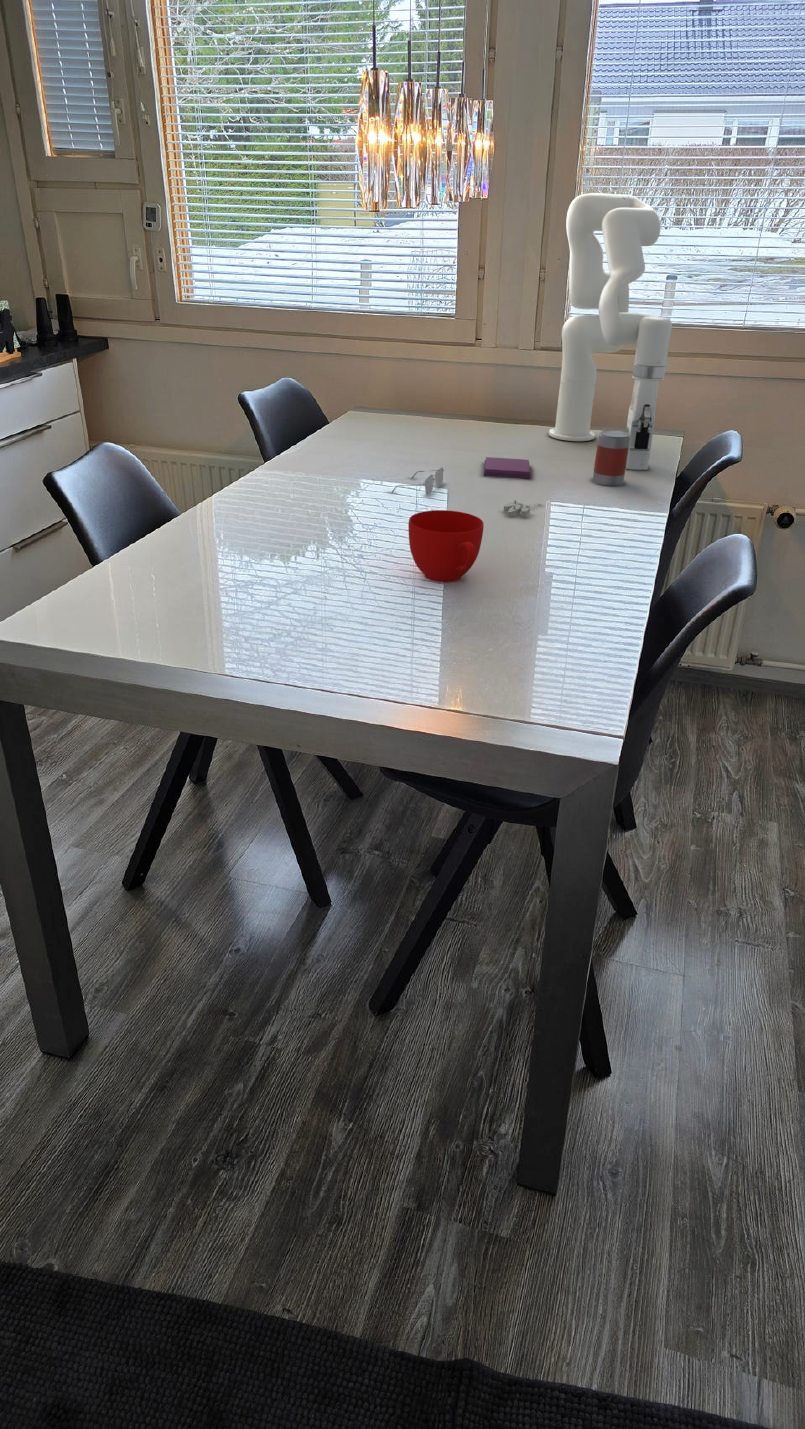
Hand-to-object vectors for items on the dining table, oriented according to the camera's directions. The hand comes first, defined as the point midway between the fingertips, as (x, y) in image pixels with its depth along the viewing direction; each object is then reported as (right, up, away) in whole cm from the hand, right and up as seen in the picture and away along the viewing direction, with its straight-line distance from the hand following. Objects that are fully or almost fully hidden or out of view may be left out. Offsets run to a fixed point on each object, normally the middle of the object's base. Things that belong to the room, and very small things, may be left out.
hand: (638, 444), depth 248 cm
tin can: (-10, -12, -11) cm, 19 cm away
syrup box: (0, -5, +3) cm, 6 cm away
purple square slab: (-33, -8, -6) cm, 35 cm away
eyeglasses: (-55, -16, -22) cm, 61 cm away
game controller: (-32, -24, -35) cm, 53 cm away
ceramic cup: (-51, -44, -73) cm, 99 cm away
